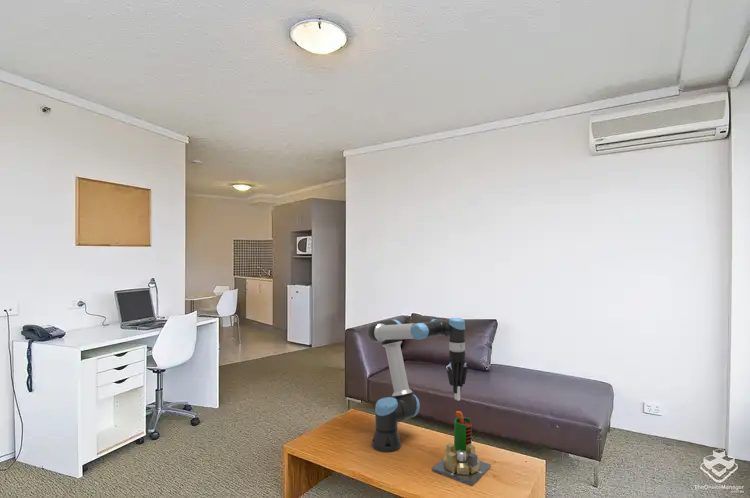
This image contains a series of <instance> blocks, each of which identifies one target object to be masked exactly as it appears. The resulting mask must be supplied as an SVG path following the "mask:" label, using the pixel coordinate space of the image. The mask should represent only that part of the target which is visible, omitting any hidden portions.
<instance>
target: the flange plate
mask: <svg viewBox="0 0 750 498" xmlns="http://www.w3.org/2000/svg"><path fill="white" fill-rule="evenodd" d="M479 462H480V469H479V471H477V472H475V473H473V474H470V473H469V475H463V474H457V472H456V473H453V472H451V471H449V470H447V469H446V467H444V458H442V459H441V460H440V461H438V463H437V464H435V465H434V466H433V467H431V472H432V473H436V474H438V475H442V476H443V477H447V478H449V479H451V480H455V481H456V482H460V483H462V484H466V485H468V486H470V487H473V486H474V485H475V484H476V483H477V482H478V481H479V480H480V479H481V478H482V477H483V476H484V475H485V474H487V472H488V471H489V469H491V467H492V466H491V464H490V463H488V462H485V461H481V460H479ZM457 463H466V451H464V450H457Z"/></svg>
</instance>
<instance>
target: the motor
mask: <svg viewBox="0 0 750 498" xmlns="http://www.w3.org/2000/svg"><path fill="white" fill-rule="evenodd" d="M453 423H454V426H453V427H454V429H453V437H454V438H453V444H454V445H455V451H457V450H464V451H466V445H469V444H471V445H472V436H473V435H472V423H471V418H469V417H465V416H464V415H463V412H462V411H461V410H460V411H459V410H457V411H456V412H455V419H454V421H453Z"/></svg>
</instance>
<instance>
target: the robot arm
mask: <svg viewBox="0 0 750 498" xmlns="http://www.w3.org/2000/svg"><path fill="white" fill-rule="evenodd" d="M465 322H466V321H465V318H461V317H449V320H443V319H439V318H437V319H436V318H435V319H434V318H433V319H431V320H430V321H425V322H416V323H414V322H413V323H402V322H400V321H399V320H398V319H387V320H380V321H378V320H377V321H374V322H372V323H370V325H368V327H367V330H366V334H367V338H368V339H369V341H371V342H373V343H378V344H379V343H381V346H382V347H383V348H385V352H386V358H387V363H388V368H389V372H390V377H391V378H390V379H391V384H392V389H393V393H392V395H391V396H389V397H388V396H387V397H382V398H380V399H378V400H377V401H376V403H375V409H374V412H375V417H374V418H375V423H374V425H375V427H374V429H375V431H374V433H373V438H372V441H371V446H372V449H374V450H376V451H379V452H384V453H385V452H386V453H387V452H389V453H390V452H395V451H398V450H399V449H400V448H401V447H402V440H401V439H400V438H401V437H400V434H399V430H398V428H399V427H398V423H400V422H403V421H406V420H409V419H413V418H414V417H416V416H417V415H418V413H419V412H420V409H421V407H420V400H419V398H418V397H417V395H415V394H414V392H413V391H412V389H410V386H409V382H408V377H407V376H408V375H407V372H406V368H405V362H404V357H403V352H402V348H401V345H402V343H403V340H412V339H413V340H417V341H418V340H419V341H420V340H425V339H429V338H434V337H435V338H436V337H439V336H443V337H448V340H449V341H448V343H449V345H448V349H449V351H448V355H449V362H448V364H447V365H445V366H444V367H445V368H444V369H445V370H446V373H447V377H448V378H447V379H448V382H449V385H450V386H452V390H453V391H452V392H453V394H454V397H453V399H454V400H455V401H458V402H459V401H461V393H462V388H463V386H464V385H465V384H466V378H467V373H468V369H469V366H470V364H469V363H467V362H466V361H465V359H466V338H465V337H466V323H465Z"/></svg>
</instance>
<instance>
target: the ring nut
mask: <svg viewBox="0 0 750 498" xmlns="http://www.w3.org/2000/svg"><path fill="white" fill-rule="evenodd" d="M445 447H446V449H445V450H446V452H445V453H444V455H443V459H444V467H446V469H447V470H449V471H451V472H453V473H456V472H457V474H463V475H469V473H470V474H473V473H475V472H477V471H479V469H480V462H479V461H480V459H479V456H478V455H477V454H476V446H475V445H473V444H472V443H471V444H469V445H466V463H457V451H455V445H454V443H451V442H448V443H447V444H446V445H445Z"/></svg>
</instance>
